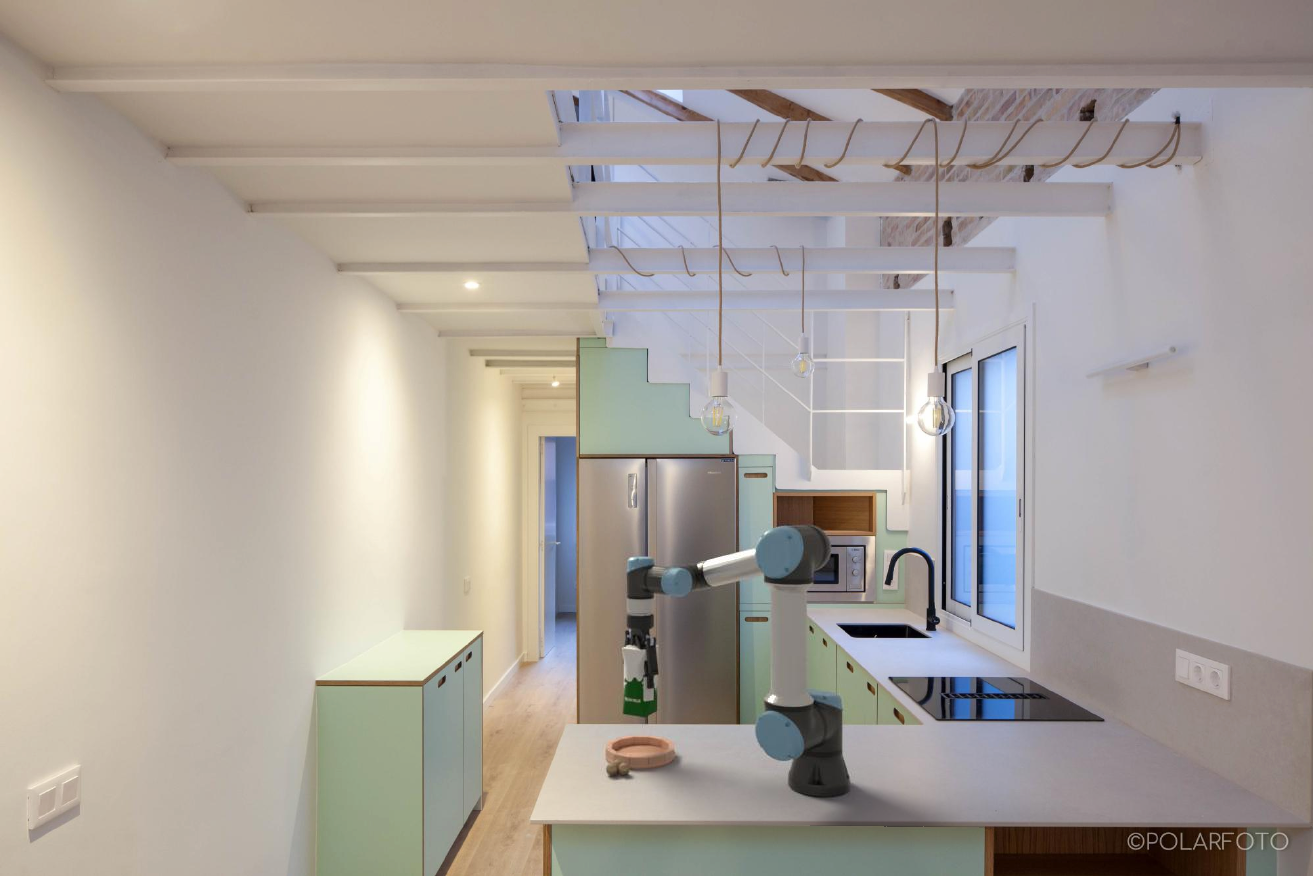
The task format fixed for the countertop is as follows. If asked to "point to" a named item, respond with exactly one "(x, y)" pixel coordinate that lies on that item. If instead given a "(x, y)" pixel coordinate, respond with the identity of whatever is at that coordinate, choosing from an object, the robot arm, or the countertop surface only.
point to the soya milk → (636, 683)
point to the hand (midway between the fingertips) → (640, 696)
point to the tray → (641, 751)
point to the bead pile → (617, 768)
